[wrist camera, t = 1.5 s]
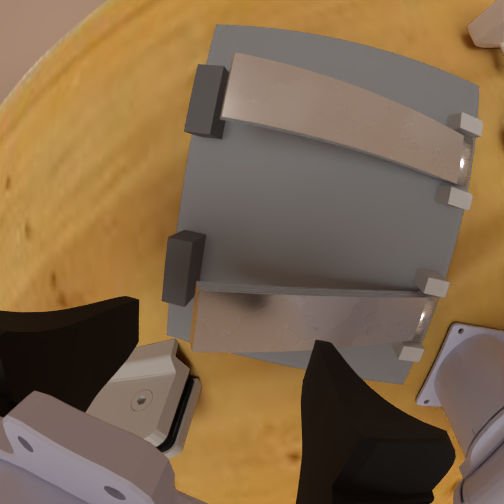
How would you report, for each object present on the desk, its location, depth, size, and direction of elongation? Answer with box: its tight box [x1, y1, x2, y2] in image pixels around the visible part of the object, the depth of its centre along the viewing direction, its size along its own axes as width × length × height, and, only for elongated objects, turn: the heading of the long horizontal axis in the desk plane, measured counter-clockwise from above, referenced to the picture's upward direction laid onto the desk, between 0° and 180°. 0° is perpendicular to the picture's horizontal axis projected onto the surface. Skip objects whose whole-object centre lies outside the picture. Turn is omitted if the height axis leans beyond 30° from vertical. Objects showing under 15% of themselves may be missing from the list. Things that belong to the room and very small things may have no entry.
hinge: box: [86, 339, 201, 459], centre depth 23 cm, size 17×5×10 cm, turn 110°
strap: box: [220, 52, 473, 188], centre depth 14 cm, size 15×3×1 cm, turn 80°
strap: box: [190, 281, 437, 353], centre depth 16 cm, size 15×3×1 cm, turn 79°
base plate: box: [162, 25, 483, 384], centre depth 18 cm, size 18×22×5 cm
